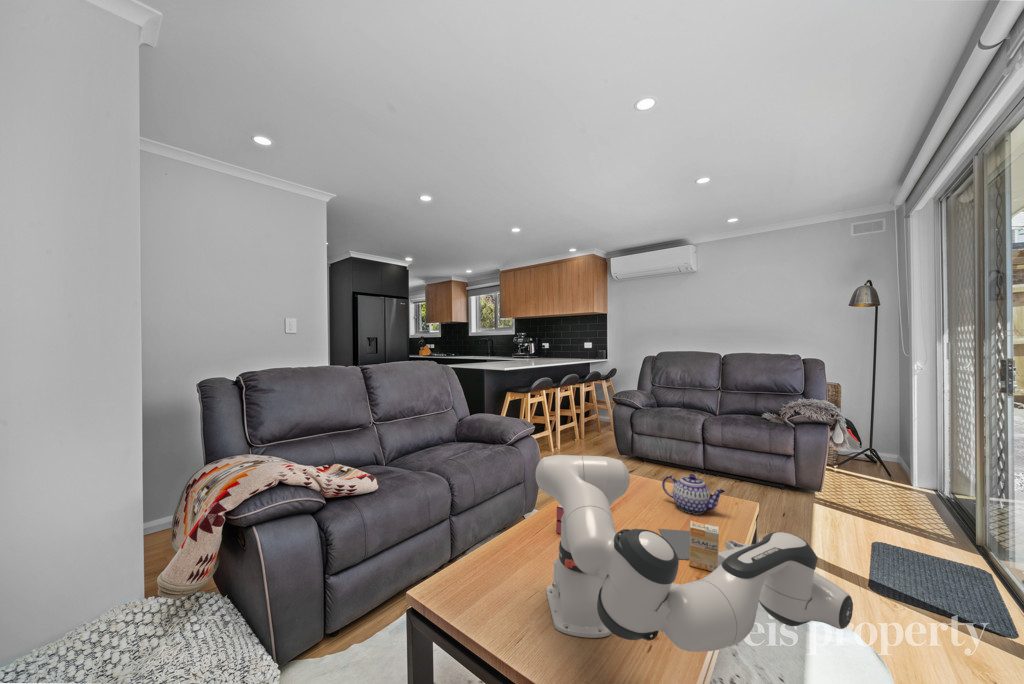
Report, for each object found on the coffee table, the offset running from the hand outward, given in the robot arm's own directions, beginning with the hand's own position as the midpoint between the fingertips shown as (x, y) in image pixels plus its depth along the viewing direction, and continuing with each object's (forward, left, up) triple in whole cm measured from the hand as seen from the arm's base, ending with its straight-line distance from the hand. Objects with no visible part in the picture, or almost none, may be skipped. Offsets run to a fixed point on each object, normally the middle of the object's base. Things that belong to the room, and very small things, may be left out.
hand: (728, 543), depth 110 cm
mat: (+24, +4, -14) cm, 28 cm away
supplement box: (+11, +3, -14) cm, 18 cm away
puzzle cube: (+27, +43, -14) cm, 53 cm away
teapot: (+55, -8, -14) cm, 58 cm away
